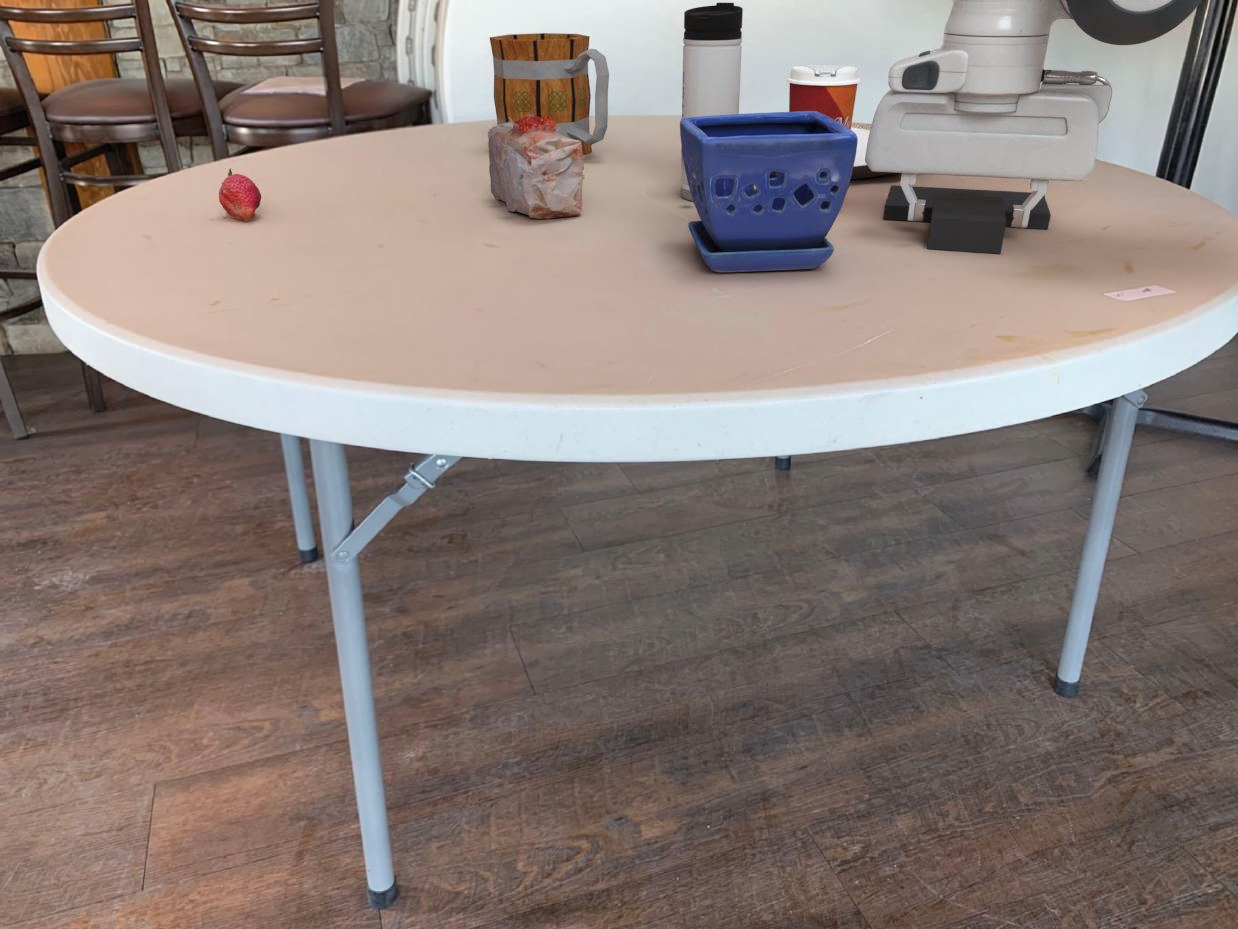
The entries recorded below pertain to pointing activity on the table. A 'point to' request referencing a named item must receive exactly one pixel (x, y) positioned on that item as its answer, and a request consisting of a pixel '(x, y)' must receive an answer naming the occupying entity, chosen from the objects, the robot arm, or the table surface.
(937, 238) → the black block
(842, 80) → the paper cup
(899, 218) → the charcoal pad
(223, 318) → the table surface
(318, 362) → the table surface
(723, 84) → the travel mug
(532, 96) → the mug
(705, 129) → the flower pot
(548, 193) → the wrapped gift box
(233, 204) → the fruit
